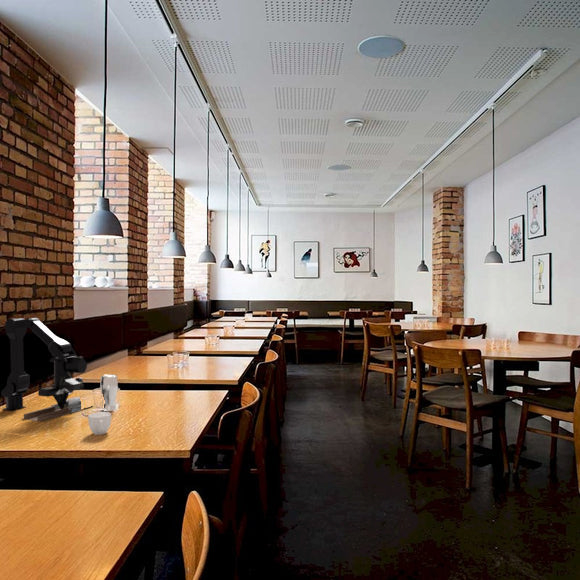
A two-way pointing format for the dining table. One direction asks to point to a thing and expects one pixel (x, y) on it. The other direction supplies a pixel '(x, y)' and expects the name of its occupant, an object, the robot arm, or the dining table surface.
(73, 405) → the grey cube
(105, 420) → the cup
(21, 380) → the robot arm
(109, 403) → the beer glass
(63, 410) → the slot board
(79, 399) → the grey block
